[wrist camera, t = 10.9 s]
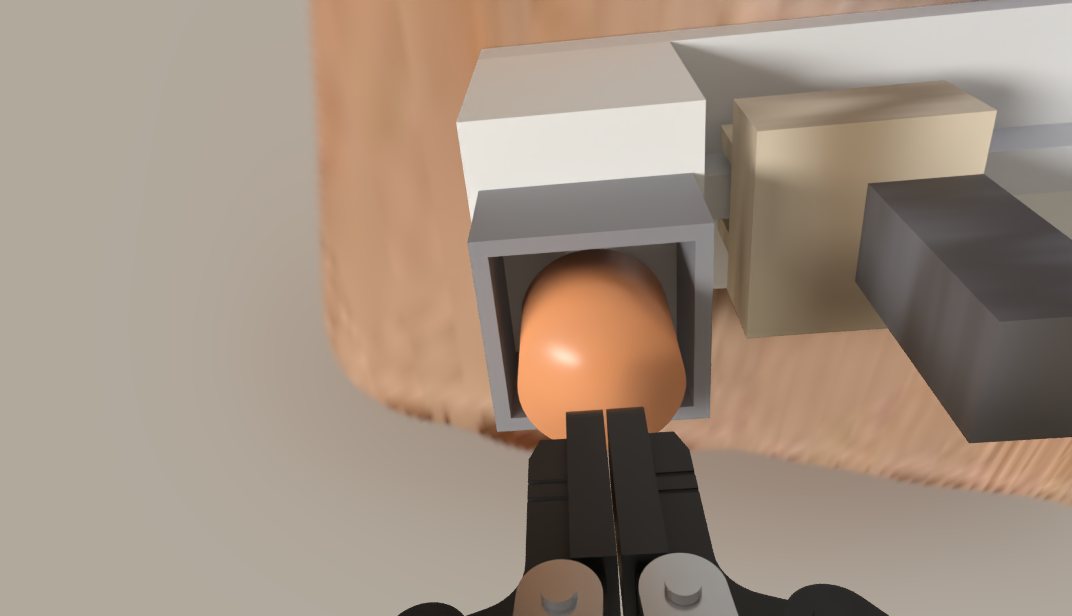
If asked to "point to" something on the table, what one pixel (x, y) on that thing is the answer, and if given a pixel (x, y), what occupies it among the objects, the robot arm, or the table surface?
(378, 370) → the table surface
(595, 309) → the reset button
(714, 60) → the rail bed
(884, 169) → the carriage
